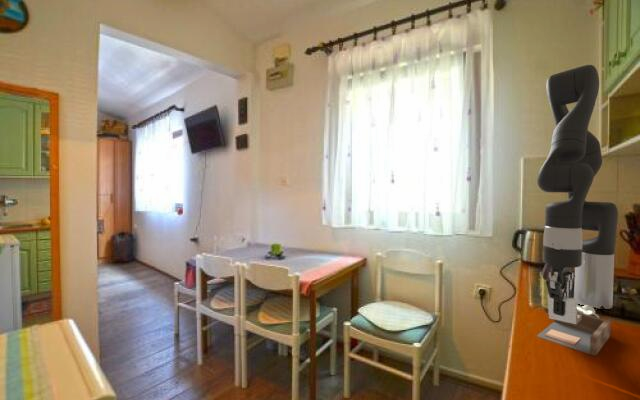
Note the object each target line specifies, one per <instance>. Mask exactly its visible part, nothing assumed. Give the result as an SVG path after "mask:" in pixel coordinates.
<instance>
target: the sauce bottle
mask: <svg viewBox="0 0 640 400" xmlns="http://www.w3.org/2000/svg"><path fill="white" fill-rule="evenodd" d="M551 268H552V266H551V265H550V264H547V263H545V264H544V266H543V269H542V271H541V284H540V285H541V286H540V287H541V309H542V310H543V311H544V312H546V313H548V314H549V312H548V295H547V294H549V292H548V289H547V285H546V281H547V280H550V278H549V271H551Z"/></svg>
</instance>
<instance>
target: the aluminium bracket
mask: <svg viewBox="0 0 640 400" xmlns="http://www.w3.org/2000/svg"><path fill="white" fill-rule="evenodd" d="M547 295H548V312H549V313H548V312H547V313H548V319H551V320H554V319H555V320H559V321H563V322H568V323H572V324H577V323H579V322H580V321H581V320H582V315H577V305H578V304H577V303H576V298H574V297H572V296H569V297H566V300H565V315H564V316H560V315H556V314H554V313H553V303H554V299H552V298H550V296H549V294H547Z"/></svg>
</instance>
